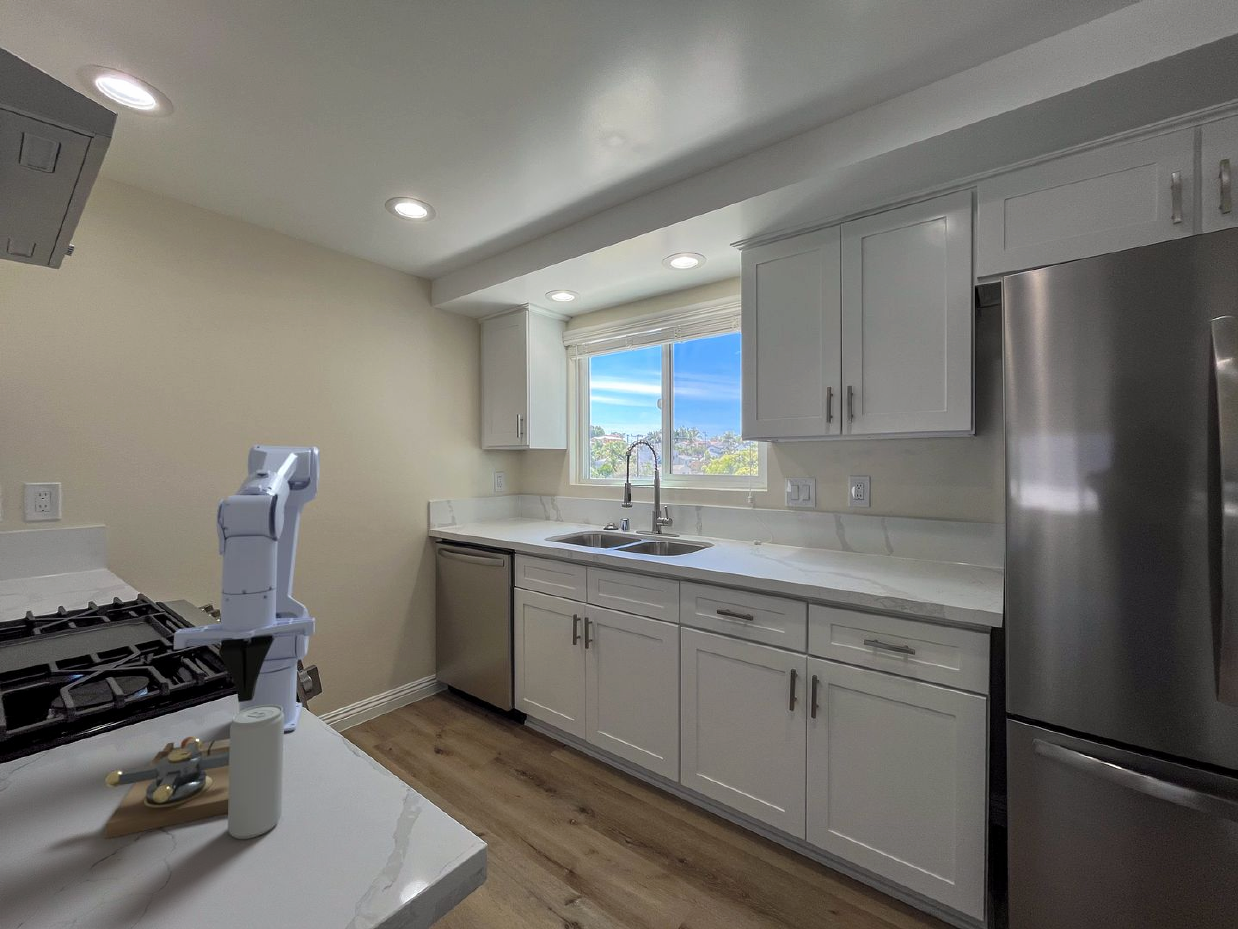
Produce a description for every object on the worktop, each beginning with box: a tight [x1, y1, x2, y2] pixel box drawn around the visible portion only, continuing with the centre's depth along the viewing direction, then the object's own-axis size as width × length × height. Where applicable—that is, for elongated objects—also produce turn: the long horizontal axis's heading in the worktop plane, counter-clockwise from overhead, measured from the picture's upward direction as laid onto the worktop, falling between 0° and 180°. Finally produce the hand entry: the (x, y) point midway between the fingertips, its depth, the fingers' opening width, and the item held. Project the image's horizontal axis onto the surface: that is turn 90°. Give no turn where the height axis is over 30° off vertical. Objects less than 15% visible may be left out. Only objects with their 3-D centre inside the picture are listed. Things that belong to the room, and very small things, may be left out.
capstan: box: [104, 737, 229, 805], centre depth 61 cm, size 13×13×4 cm
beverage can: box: [227, 705, 285, 840], centre depth 58 cm, size 5×5×12 cm
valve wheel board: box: [104, 736, 230, 839], centre depth 65 cm, size 16×12×4 cm
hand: (246, 698), depth 68 cm, fingers closed
